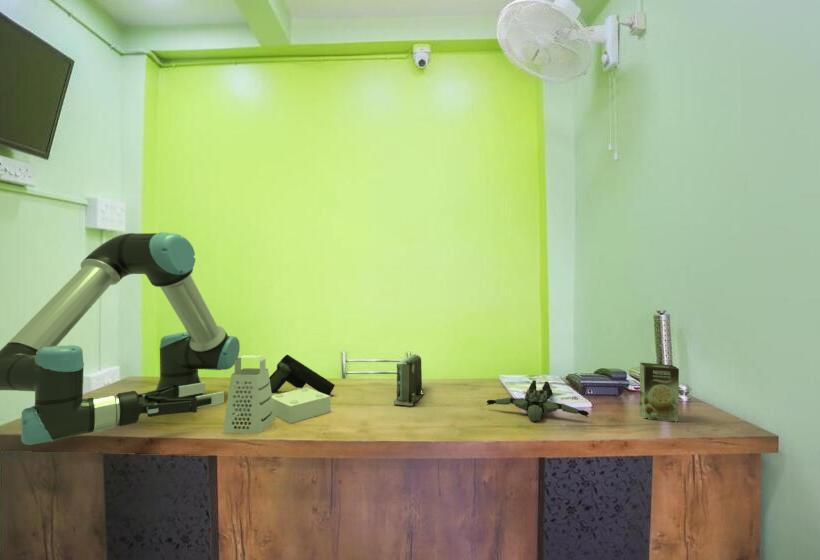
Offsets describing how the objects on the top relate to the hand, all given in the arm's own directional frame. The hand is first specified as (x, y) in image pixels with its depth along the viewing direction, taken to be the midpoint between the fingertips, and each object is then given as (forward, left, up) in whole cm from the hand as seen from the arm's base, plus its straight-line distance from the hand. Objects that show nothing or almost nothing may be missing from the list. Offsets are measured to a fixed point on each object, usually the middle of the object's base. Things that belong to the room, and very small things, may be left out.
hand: (213, 391), depth 104 cm
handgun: (-18, +36, -12) cm, 42 cm away
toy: (+53, +83, -12) cm, 99 cm away
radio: (+14, +62, -12) cm, 64 cm away
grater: (0, +10, -12) cm, 15 cm away
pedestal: (0, +26, -12) cm, 28 cm away
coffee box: (+84, +100, -12) cm, 131 cm away
